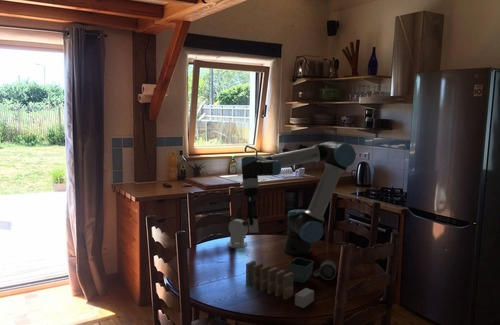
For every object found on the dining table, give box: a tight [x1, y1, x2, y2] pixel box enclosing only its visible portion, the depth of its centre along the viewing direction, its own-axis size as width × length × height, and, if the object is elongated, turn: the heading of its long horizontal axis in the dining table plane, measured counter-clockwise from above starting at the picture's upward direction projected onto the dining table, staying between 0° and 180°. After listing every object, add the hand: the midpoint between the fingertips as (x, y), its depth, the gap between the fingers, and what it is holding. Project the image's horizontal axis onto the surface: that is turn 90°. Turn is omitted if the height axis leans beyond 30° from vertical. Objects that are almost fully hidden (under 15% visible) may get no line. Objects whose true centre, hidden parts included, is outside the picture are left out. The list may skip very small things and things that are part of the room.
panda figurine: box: [227, 217, 249, 249], centre depth 235 cm, size 12×11×15 cm
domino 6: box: [282, 271, 294, 301], centre depth 171 cm, size 2×5×10 cm, turn 141°
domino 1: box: [245, 260, 257, 287], centre depth 183 cm, size 2×5×10 cm, turn 141°
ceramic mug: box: [312, 259, 337, 281], centre depth 193 cm, size 11×8×8 cm
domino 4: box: [267, 267, 279, 295], centre depth 176 cm, size 2×5×10 cm, turn 141°
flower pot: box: [288, 257, 315, 284], centre depth 187 cm, size 9×9×9 cm
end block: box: [294, 287, 315, 309], centre depth 166 cm, size 4×8×4 cm, turn 141°
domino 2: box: [252, 262, 264, 290], centre depth 181 cm, size 2×5×10 cm, turn 141°
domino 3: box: [259, 264, 271, 292], centre depth 178 cm, size 2×5×10 cm, turn 141°
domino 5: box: [274, 269, 286, 298], centre depth 173 cm, size 2×5×10 cm, turn 141°
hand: (254, 232), depth 194 cm, fingers open, 13 cm apart
